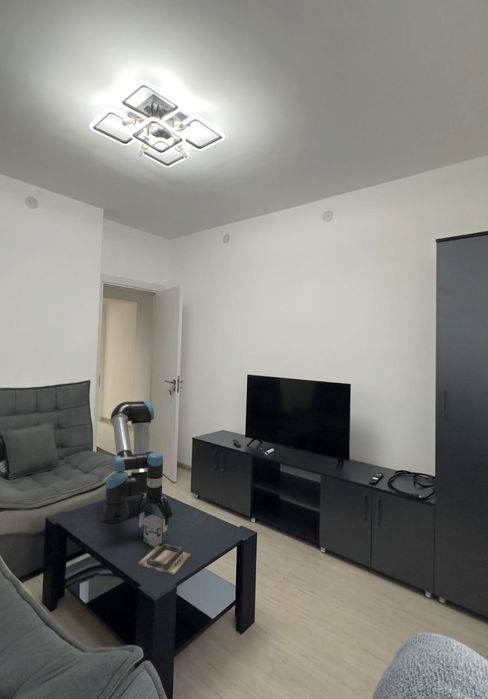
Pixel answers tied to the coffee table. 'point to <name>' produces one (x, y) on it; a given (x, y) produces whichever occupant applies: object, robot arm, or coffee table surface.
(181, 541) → the coffee table surface
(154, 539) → the ink box
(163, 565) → the header board
